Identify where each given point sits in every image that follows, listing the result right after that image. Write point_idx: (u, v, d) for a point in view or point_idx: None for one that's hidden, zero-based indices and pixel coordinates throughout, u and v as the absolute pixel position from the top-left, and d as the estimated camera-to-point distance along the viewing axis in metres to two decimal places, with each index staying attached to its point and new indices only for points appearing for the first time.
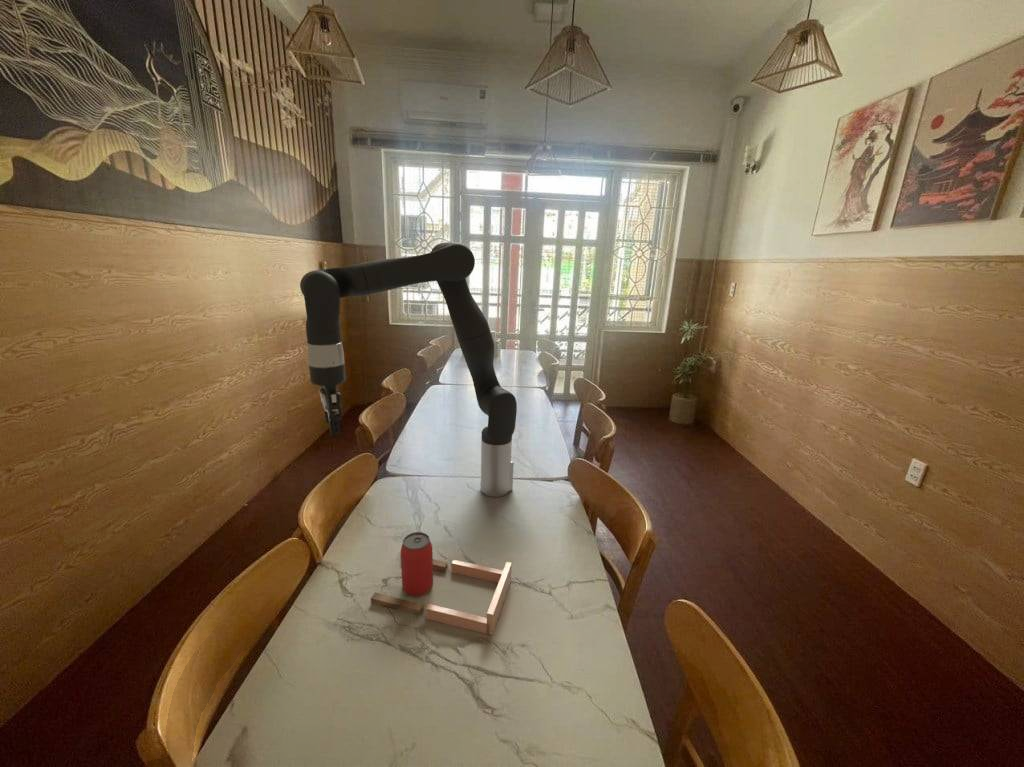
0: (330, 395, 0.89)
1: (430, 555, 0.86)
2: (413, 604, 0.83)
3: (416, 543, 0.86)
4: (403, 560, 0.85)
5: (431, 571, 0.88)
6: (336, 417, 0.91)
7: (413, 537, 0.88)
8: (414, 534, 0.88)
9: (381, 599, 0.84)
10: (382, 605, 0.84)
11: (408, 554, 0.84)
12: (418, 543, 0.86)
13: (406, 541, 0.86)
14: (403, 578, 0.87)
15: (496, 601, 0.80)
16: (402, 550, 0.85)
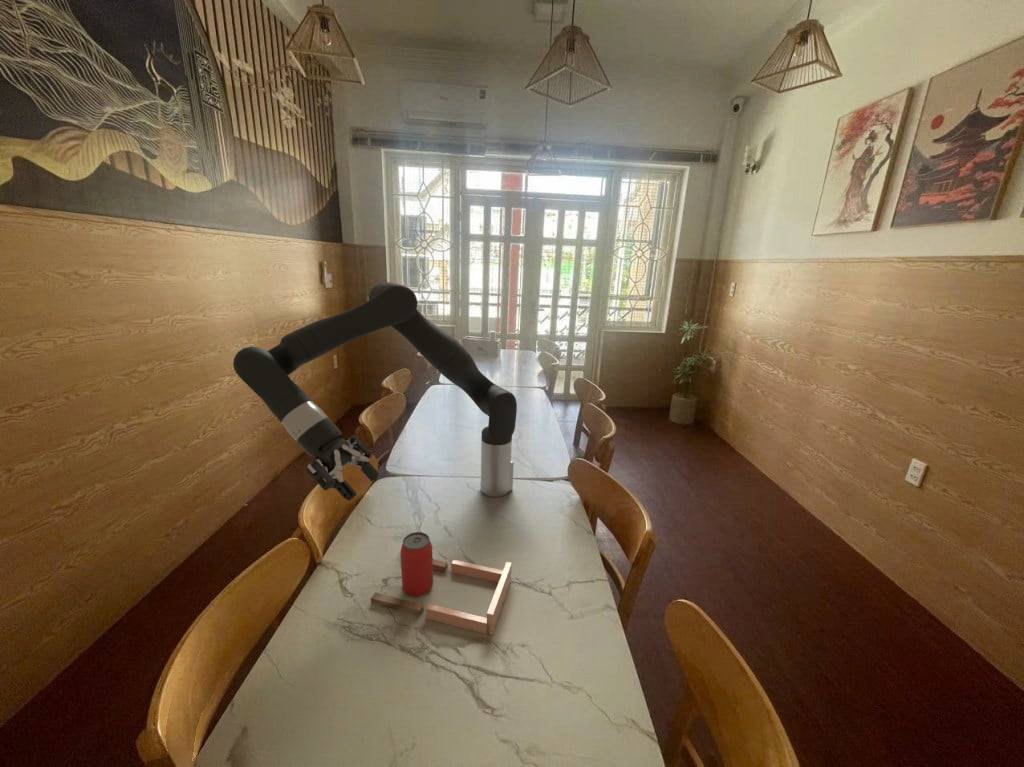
0: (307, 466, 0.79)
1: (430, 555, 0.86)
2: (413, 604, 0.83)
3: (416, 543, 0.86)
4: (403, 560, 0.85)
5: (431, 571, 0.88)
6: (326, 485, 0.78)
7: (413, 537, 0.88)
8: (414, 534, 0.88)
9: (381, 599, 0.84)
10: (382, 605, 0.84)
11: (408, 554, 0.84)
12: (418, 543, 0.86)
13: (406, 541, 0.86)
14: (403, 578, 0.87)
15: (496, 601, 0.80)
16: (402, 550, 0.85)
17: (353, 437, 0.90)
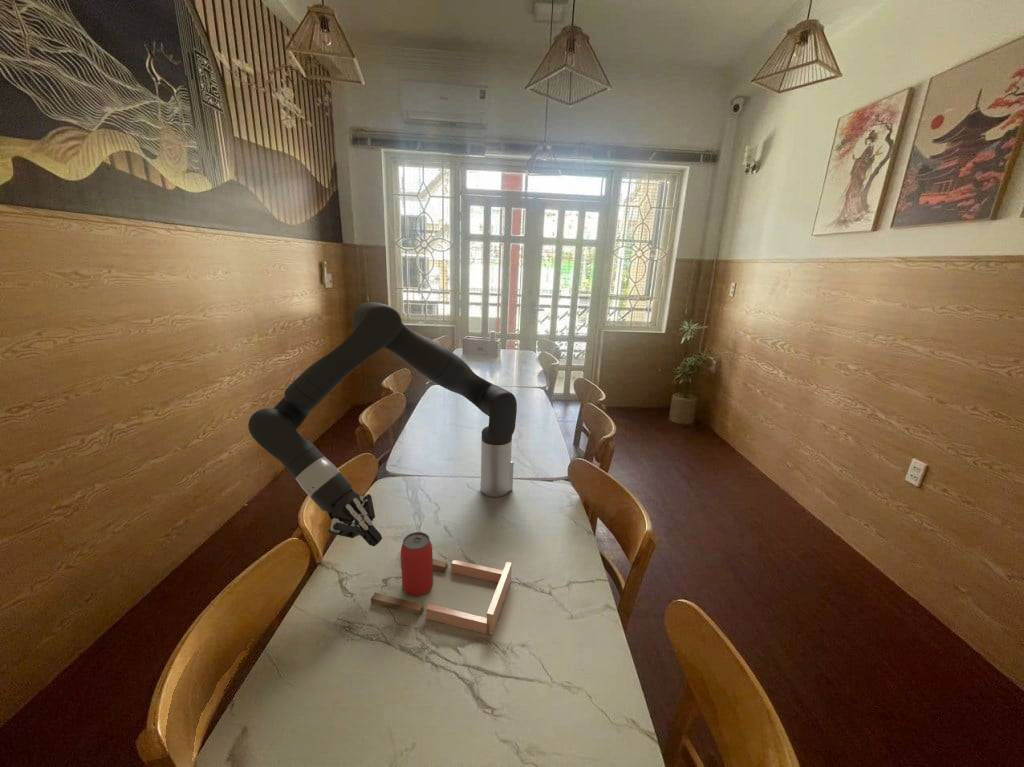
0: (330, 530, 0.83)
1: (430, 555, 0.86)
2: (413, 604, 0.83)
3: (416, 543, 0.86)
4: (403, 560, 0.85)
5: (431, 571, 0.88)
6: (353, 533, 0.85)
7: (413, 537, 0.88)
8: (414, 534, 0.88)
9: (381, 599, 0.84)
10: (382, 605, 0.84)
11: (408, 554, 0.84)
12: (418, 543, 0.86)
13: (406, 541, 0.86)
14: (403, 578, 0.87)
15: (496, 601, 0.80)
16: (402, 550, 0.85)
17: (367, 495, 0.93)
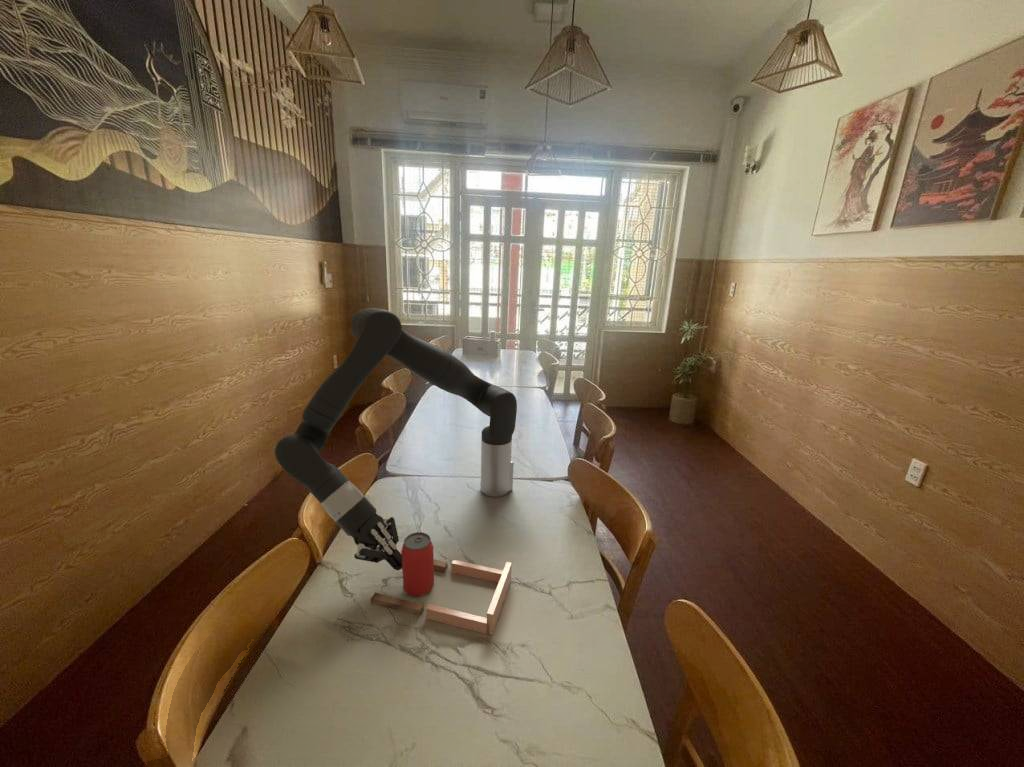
0: (356, 556, 0.84)
1: (431, 555, 0.86)
2: (413, 604, 0.83)
3: (417, 544, 0.86)
4: (404, 560, 0.85)
5: (432, 571, 0.88)
6: (378, 558, 0.86)
7: (414, 537, 0.88)
8: (415, 534, 0.88)
9: (381, 599, 0.84)
10: (382, 605, 0.84)
11: (409, 554, 0.84)
12: (419, 543, 0.86)
13: (407, 541, 0.86)
14: (404, 578, 0.87)
15: (496, 601, 0.80)
16: (403, 550, 0.85)
17: (390, 518, 0.94)
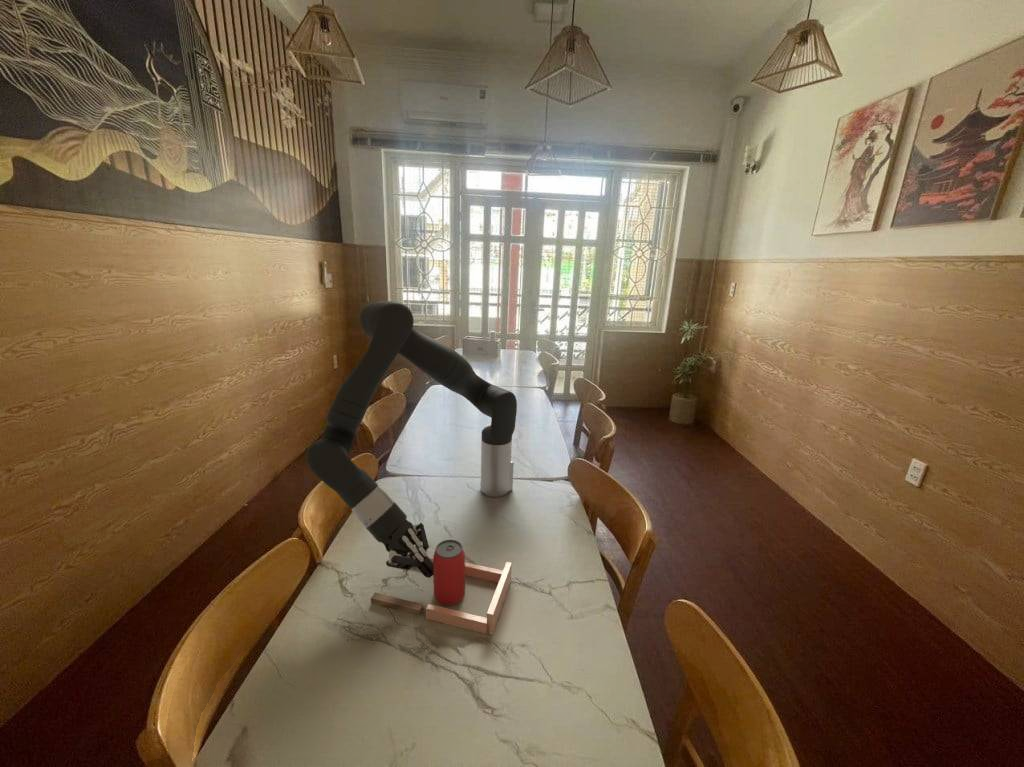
0: (388, 563, 0.82)
1: (463, 564, 0.84)
2: (413, 604, 0.83)
3: (449, 551, 0.84)
4: (436, 568, 0.83)
5: (463, 580, 0.86)
6: (410, 566, 0.84)
7: (446, 545, 0.86)
8: (446, 542, 0.86)
9: (381, 599, 0.84)
10: (382, 605, 0.84)
11: (441, 562, 0.82)
12: (451, 551, 0.84)
13: (439, 549, 0.84)
14: (435, 586, 0.85)
15: (496, 601, 0.80)
16: (435, 558, 0.83)
17: (420, 524, 0.92)
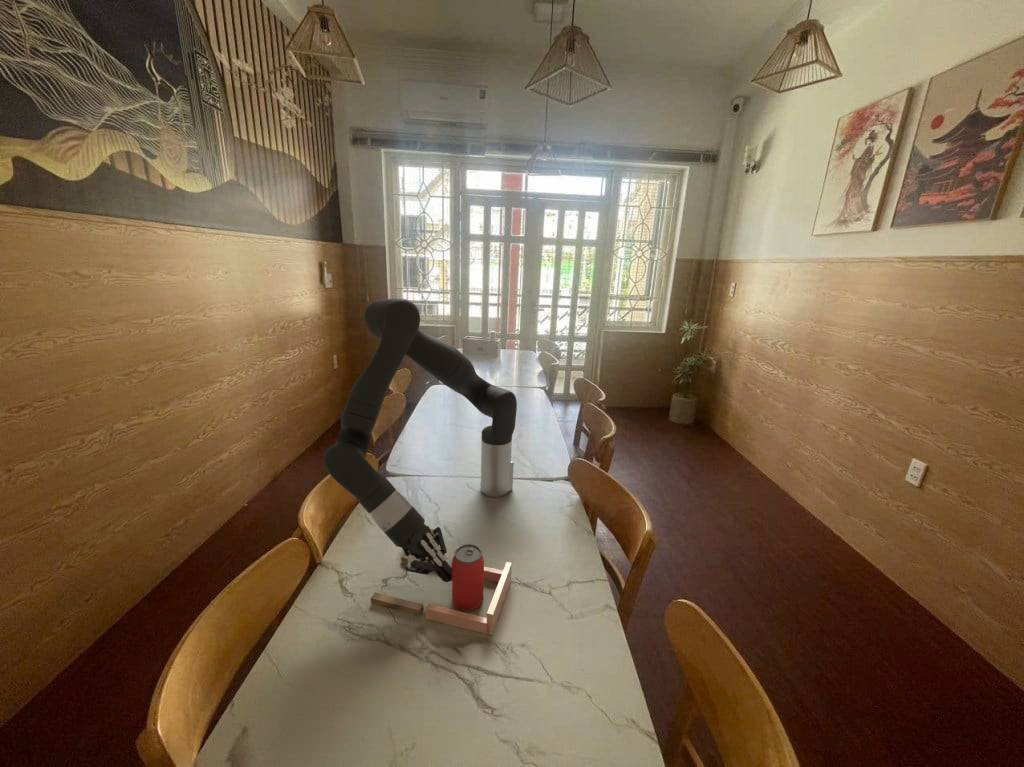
0: (407, 568, 0.81)
1: (482, 569, 0.83)
2: (413, 604, 0.83)
3: (468, 556, 0.83)
4: (455, 573, 0.82)
5: (482, 586, 0.84)
6: (429, 570, 0.83)
7: (465, 549, 0.84)
8: (465, 546, 0.85)
9: (381, 599, 0.84)
10: (382, 605, 0.84)
11: (460, 567, 0.81)
12: (470, 556, 0.83)
13: (458, 553, 0.83)
14: (454, 591, 0.84)
15: (496, 601, 0.80)
16: (454, 562, 0.82)
17: (437, 528, 0.91)
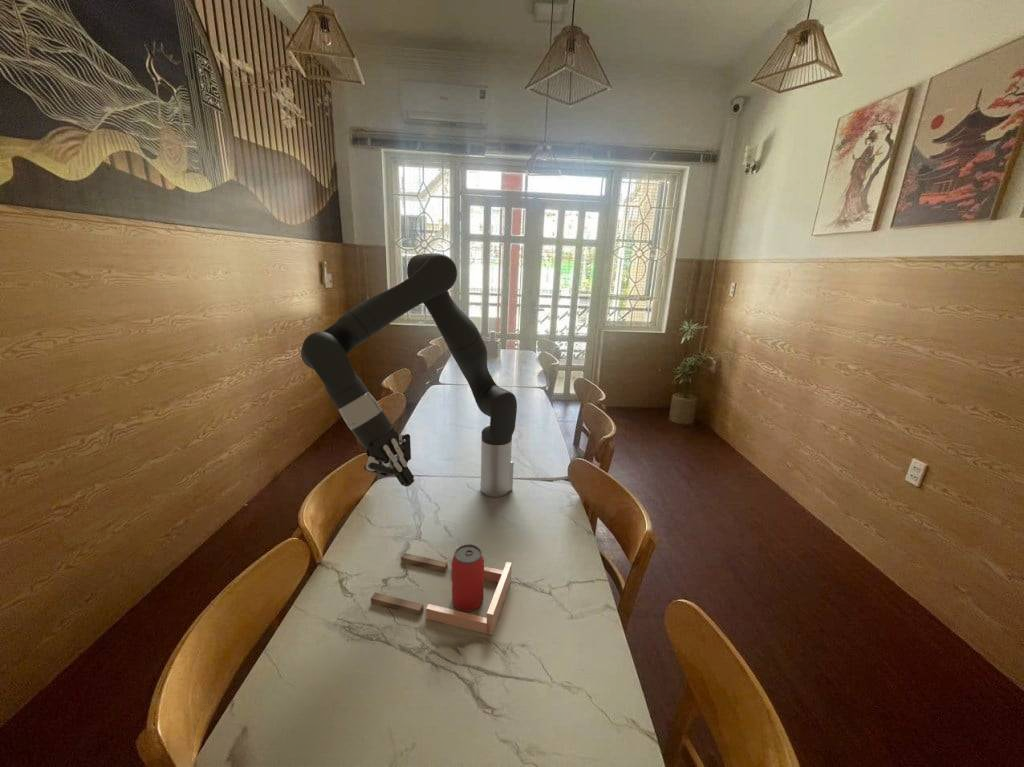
0: (365, 468, 0.84)
1: (482, 569, 0.83)
2: (413, 604, 0.83)
3: (468, 557, 0.82)
4: (455, 573, 0.82)
5: (482, 586, 0.84)
6: (387, 473, 0.86)
7: (465, 549, 0.84)
8: (465, 546, 0.85)
9: (381, 599, 0.84)
10: (382, 605, 0.84)
11: (460, 567, 0.81)
12: (470, 556, 0.83)
13: (458, 553, 0.83)
14: (454, 592, 0.84)
15: (496, 601, 0.80)
16: (454, 562, 0.82)
17: (406, 435, 0.92)
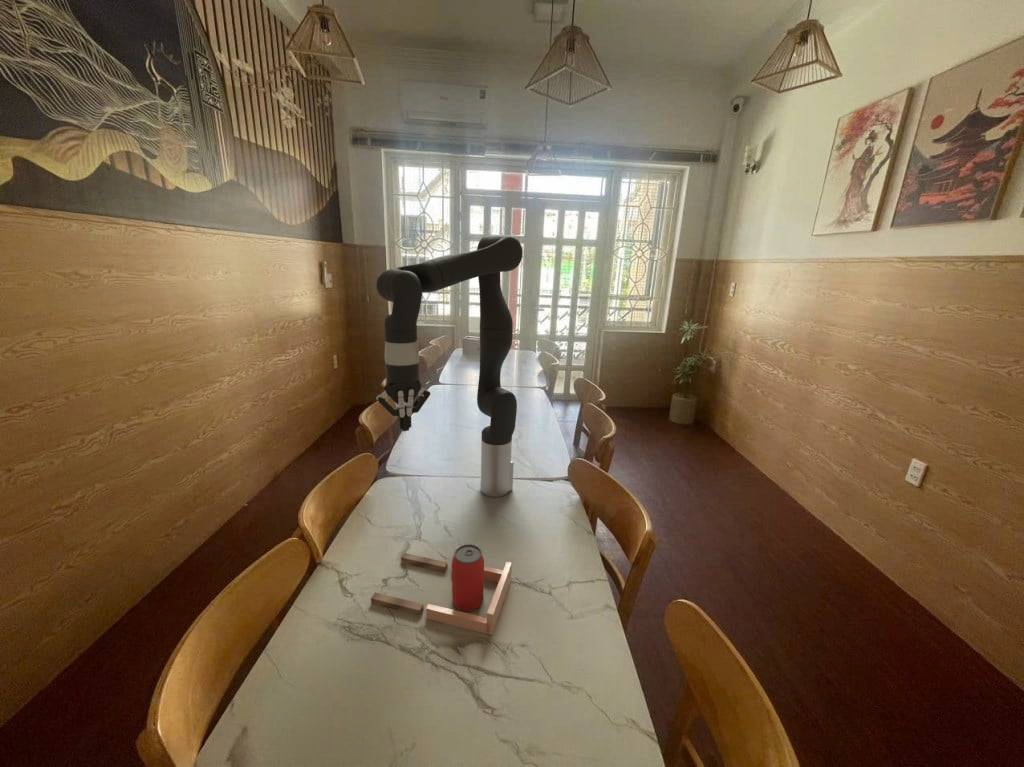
0: (376, 397, 0.94)
1: (482, 569, 0.83)
2: (413, 604, 0.83)
3: (468, 557, 0.82)
4: (455, 573, 0.82)
5: (482, 586, 0.84)
6: None
7: (465, 549, 0.84)
8: (465, 546, 0.85)
9: (381, 599, 0.84)
10: (382, 605, 0.84)
11: (460, 567, 0.81)
12: (470, 556, 0.83)
13: (458, 553, 0.83)
14: (454, 592, 0.84)
15: (496, 601, 0.80)
16: (454, 562, 0.82)
17: (427, 392, 0.98)
